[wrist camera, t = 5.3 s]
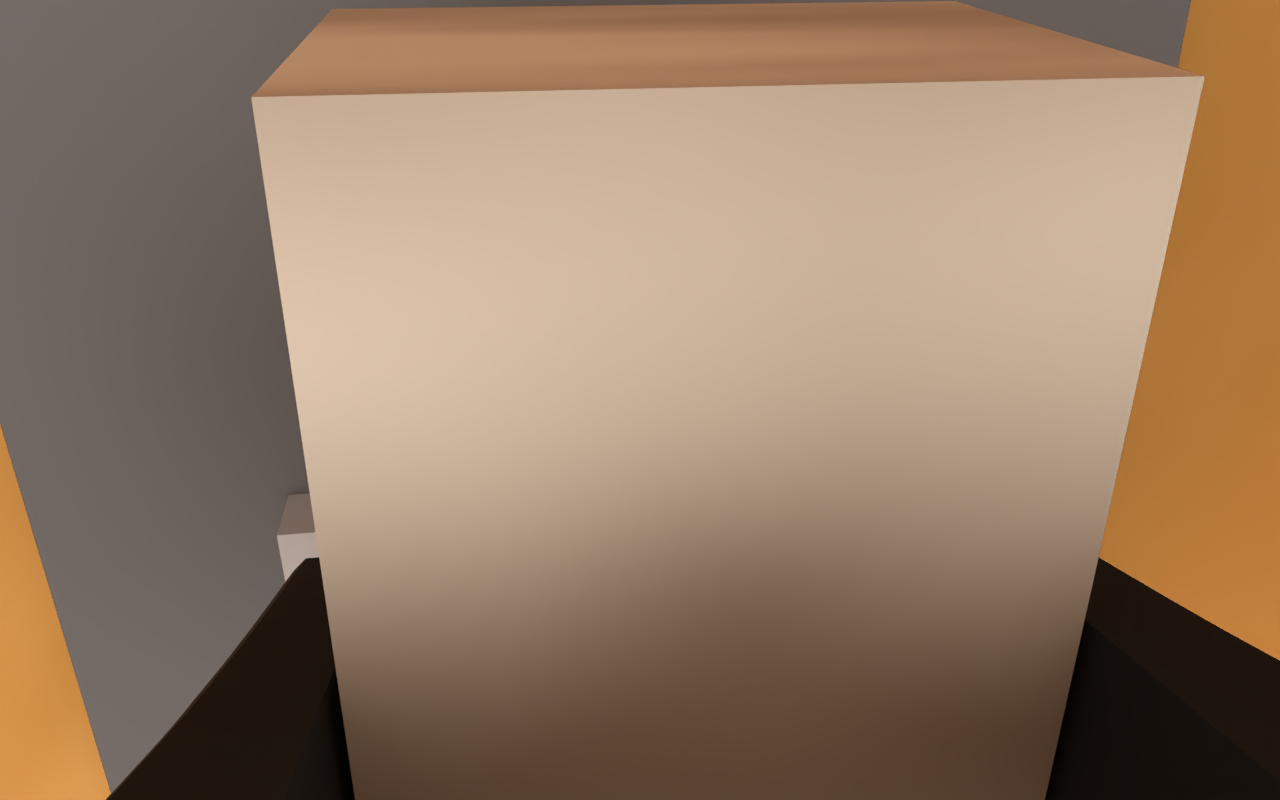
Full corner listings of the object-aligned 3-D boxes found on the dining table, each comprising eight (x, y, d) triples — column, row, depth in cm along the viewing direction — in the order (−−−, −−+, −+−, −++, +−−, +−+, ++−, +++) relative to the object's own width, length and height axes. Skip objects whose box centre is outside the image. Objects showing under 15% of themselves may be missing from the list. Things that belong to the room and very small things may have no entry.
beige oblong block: (850, 867, 14) (963, 1171, 10) (433, 914, 13) (421, 1250, 10) (954, 1, 9) (1204, 77, 6) (331, 8, 9) (249, 98, 5)
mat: (1263, -460, 14) (1350, -493, 13) (986, 986, 27) (1014, 1050, 25) (-256, -493, 12) (-352, -538, 11) (209, 1090, 25) (193, 1167, 23)
